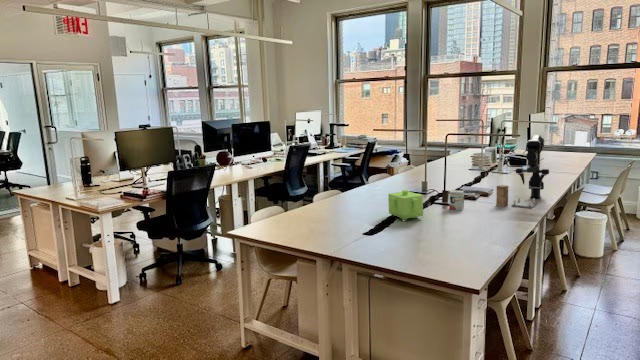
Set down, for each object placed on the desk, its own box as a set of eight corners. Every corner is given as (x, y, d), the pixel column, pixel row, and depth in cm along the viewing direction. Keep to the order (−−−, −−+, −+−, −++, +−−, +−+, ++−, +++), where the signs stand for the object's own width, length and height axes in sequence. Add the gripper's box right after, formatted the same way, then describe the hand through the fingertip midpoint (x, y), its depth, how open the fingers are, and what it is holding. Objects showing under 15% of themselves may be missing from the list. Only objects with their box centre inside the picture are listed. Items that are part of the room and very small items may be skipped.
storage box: (379, 216, 279) (378, 189, 276) (409, 211, 288) (409, 185, 285) (401, 225, 257) (401, 196, 254) (433, 219, 265) (433, 191, 262)
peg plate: (517, 202, 295) (517, 196, 295) (536, 204, 288) (536, 198, 287) (511, 206, 286) (511, 200, 286) (531, 208, 279) (531, 202, 278)
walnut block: (501, 203, 294) (501, 184, 291) (507, 205, 289) (508, 185, 287) (496, 205, 291) (496, 185, 289) (502, 206, 287) (503, 186, 285)
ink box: (449, 209, 287) (448, 191, 285) (450, 207, 291) (450, 190, 289) (462, 210, 283) (462, 192, 281) (464, 208, 287) (464, 190, 285)
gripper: (514, 160, 276) (514, 185, 278) (548, 161, 267) (547, 187, 268) (517, 159, 286) (516, 183, 288) (549, 160, 276) (548, 185, 278)
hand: (531, 184), depth 280 cm, fingers open, 9 cm apart
